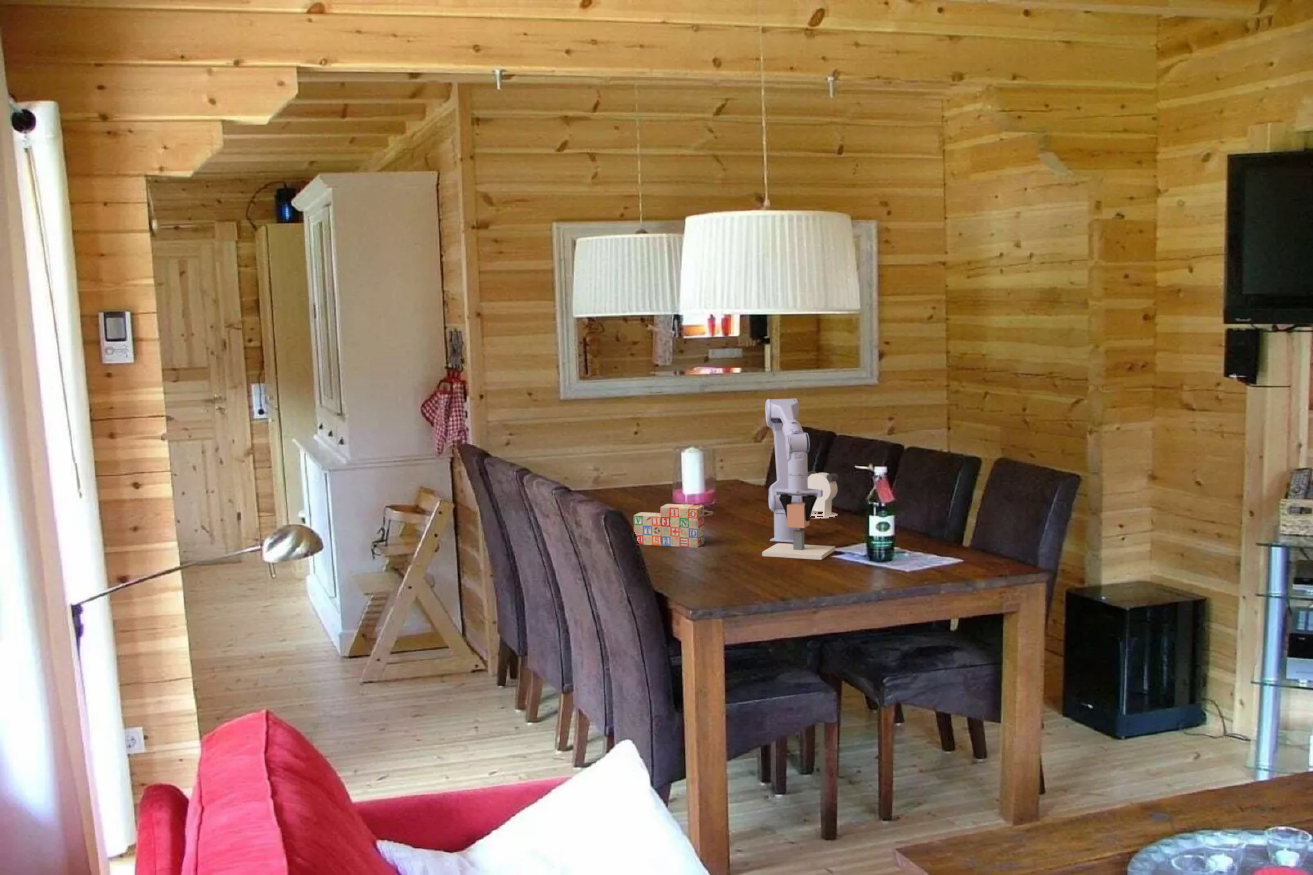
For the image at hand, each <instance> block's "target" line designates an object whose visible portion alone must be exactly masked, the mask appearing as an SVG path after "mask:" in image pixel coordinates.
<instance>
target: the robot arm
mask: <svg viewBox="0 0 1313 875" xmlns="http://www.w3.org/2000/svg"><path fill="white" fill-rule="evenodd" d="M764 409H765V410H764V413H765V423H766V426H767V427H768V428H770V429H771V430H772V434H773V442H774V455H775V457H774V458H775V459H774V460H775V469H776V470H775V471H776V481H775V482H773V483H772V484H771V485H770V486H769V488H768V498H767V499H768V508H769V510H770V511H771V512H772V513H773V533H774V534H773V536H774V537H772V538H770V539H769V542H777V543H793V531H795V530H801V528H794V527H787V505H788V504H790V503H792V502H800V503H803V501H804V503H805V508H806V521H809V520H810V521H811V518H810V517H811V512H812V509H813V506H814V504H815V502H816V500H817V497H822V496H823V490H818V489H808V472H809V471H808V453H809V452H810V447H811V446H810V443H811V442H810V437H809V434H808V432H804V430H803V428H802V424H801V423H800V421H798V417H799V413H800V404H799V400H798V399H797V397H796V398H795V397H794V398H778V399H777V398H775V399H774V398H773V399H770V398H767V400H766V401H765V405H764ZM803 497H804V500H803Z"/></svg>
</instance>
